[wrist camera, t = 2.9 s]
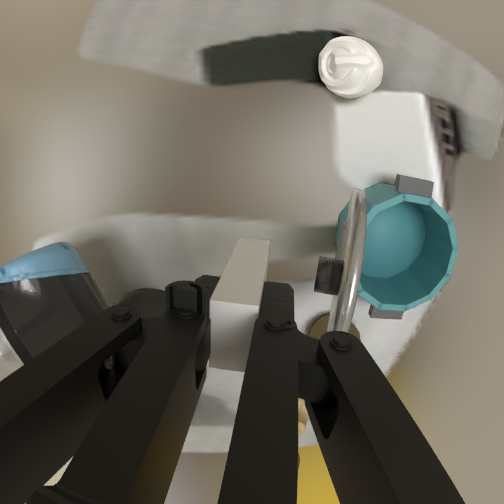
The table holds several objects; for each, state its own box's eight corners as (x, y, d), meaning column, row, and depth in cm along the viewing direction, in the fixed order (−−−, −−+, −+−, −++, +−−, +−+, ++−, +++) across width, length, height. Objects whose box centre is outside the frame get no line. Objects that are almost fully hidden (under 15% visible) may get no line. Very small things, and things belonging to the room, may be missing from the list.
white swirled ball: (313, 46, 33) (319, 26, 26) (369, 49, 32) (386, 31, 25) (319, 102, 36) (327, 92, 29) (375, 103, 35) (394, 95, 28)
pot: (412, 294, 43) (434, 324, 35) (320, 286, 44) (327, 318, 36) (437, 180, 37) (470, 191, 29) (338, 162, 38) (353, 167, 30)
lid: (326, 406, 21) (289, 400, 22) (336, 310, 35) (312, 306, 36) (376, 207, 16) (325, 198, 16) (359, 181, 30) (332, 177, 31)
